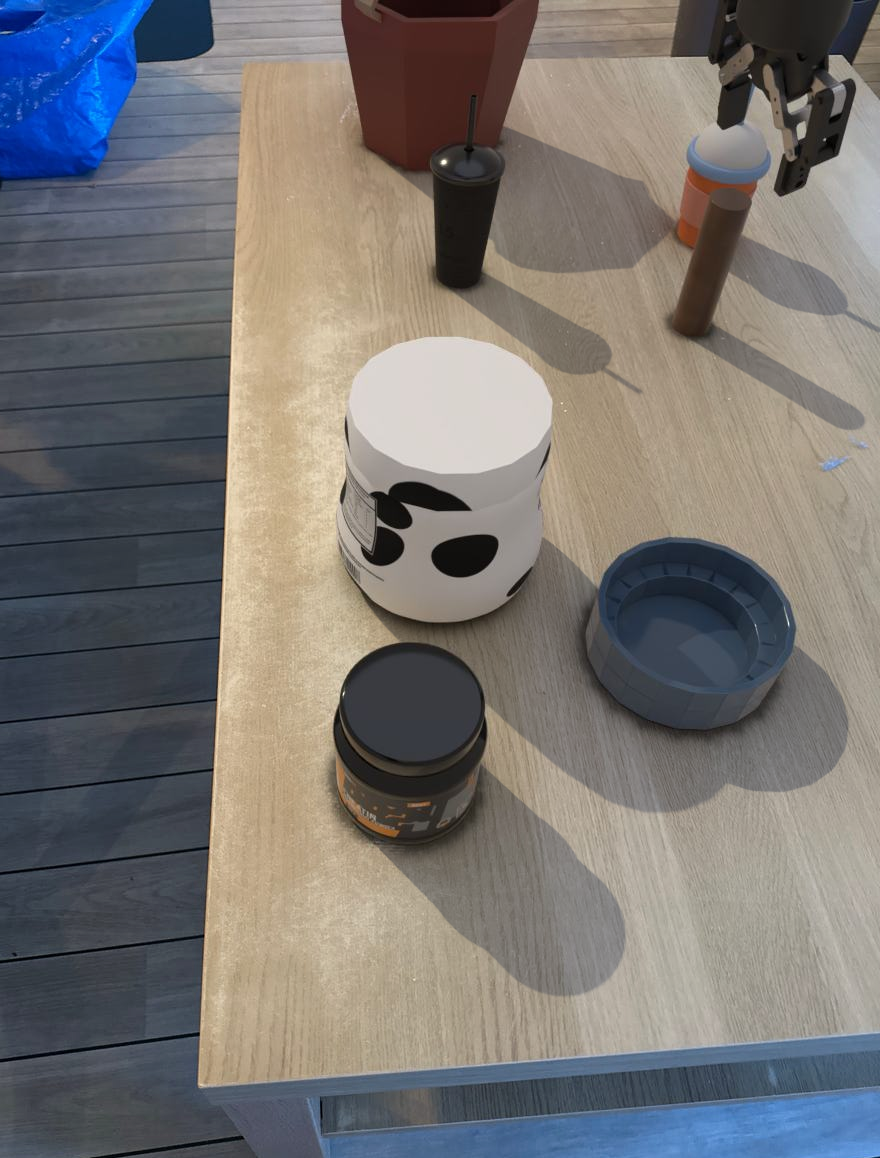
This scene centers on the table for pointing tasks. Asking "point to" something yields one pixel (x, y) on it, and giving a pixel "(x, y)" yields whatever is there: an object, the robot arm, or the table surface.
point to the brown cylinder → (711, 260)
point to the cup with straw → (720, 169)
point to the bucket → (433, 70)
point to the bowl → (689, 632)
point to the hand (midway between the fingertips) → (757, 156)
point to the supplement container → (409, 742)
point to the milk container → (443, 478)
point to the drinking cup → (464, 205)
